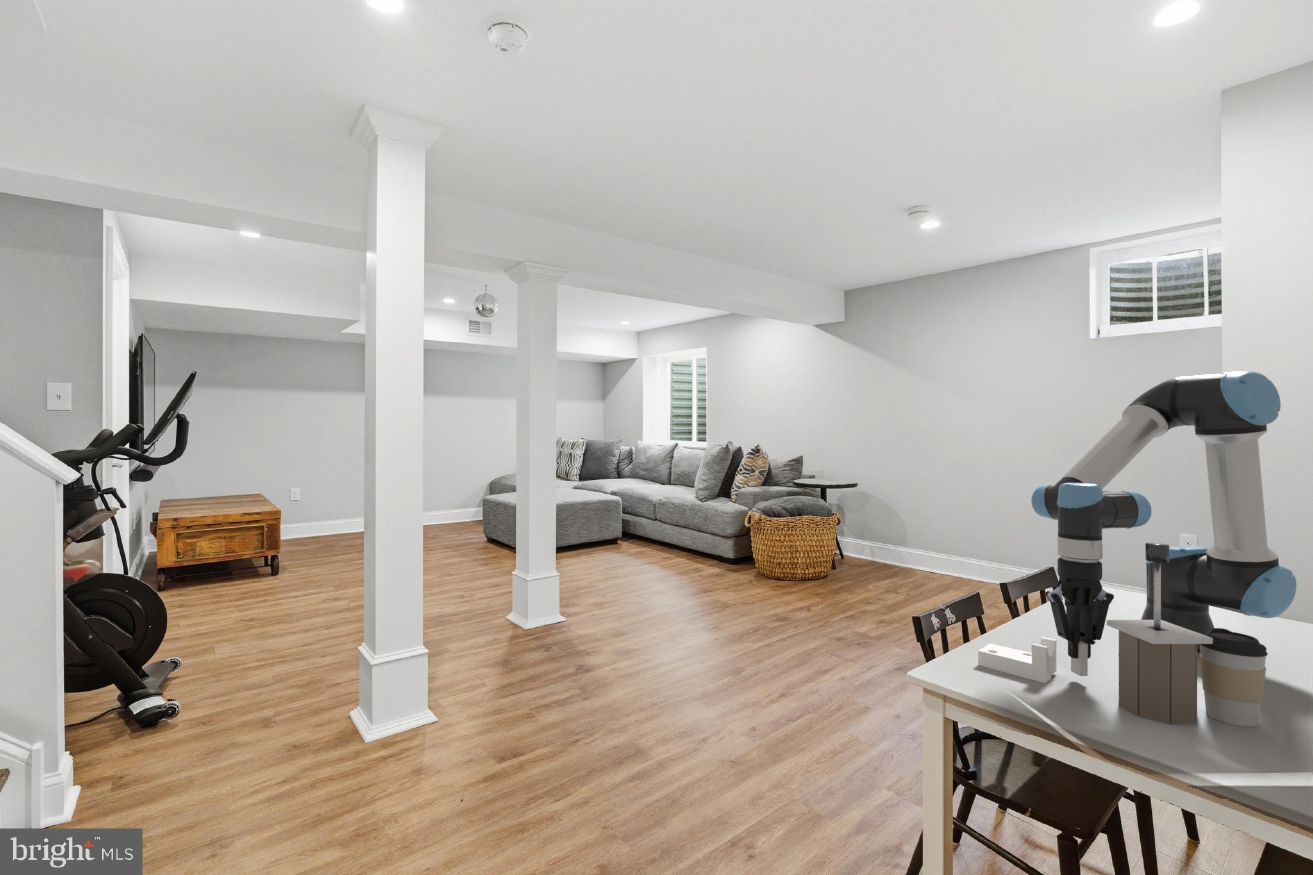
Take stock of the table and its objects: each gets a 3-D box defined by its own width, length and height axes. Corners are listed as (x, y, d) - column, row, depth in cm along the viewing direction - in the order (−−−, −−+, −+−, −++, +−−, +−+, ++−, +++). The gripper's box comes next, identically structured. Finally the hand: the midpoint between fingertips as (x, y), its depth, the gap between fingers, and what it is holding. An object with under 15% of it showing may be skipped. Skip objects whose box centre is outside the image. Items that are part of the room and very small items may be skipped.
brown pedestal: (1160, 697, 116) (1160, 619, 116) (1213, 723, 105) (1213, 638, 105) (1105, 697, 116) (1105, 619, 116) (1153, 724, 105) (1153, 638, 105)
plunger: (1159, 642, 114) (1159, 540, 114) (1193, 656, 107) (1193, 547, 107) (1123, 642, 114) (1123, 541, 114) (1154, 656, 107) (1154, 547, 107)
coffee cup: (1282, 731, 102) (1282, 643, 102) (1220, 726, 104) (1220, 640, 104) (1242, 708, 111) (1242, 627, 111) (1185, 704, 113) (1185, 624, 113)
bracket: (1056, 675, 128) (1056, 639, 128) (1046, 684, 123) (1046, 647, 123) (990, 658, 137) (990, 625, 137) (978, 666, 132) (978, 632, 132)
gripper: (1097, 554, 127) (1096, 666, 127) (1036, 555, 127) (1035, 666, 127) (1125, 562, 120) (1125, 680, 120) (1060, 562, 120) (1060, 681, 120)
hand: (1079, 673), depth 123 cm, fingers closed
